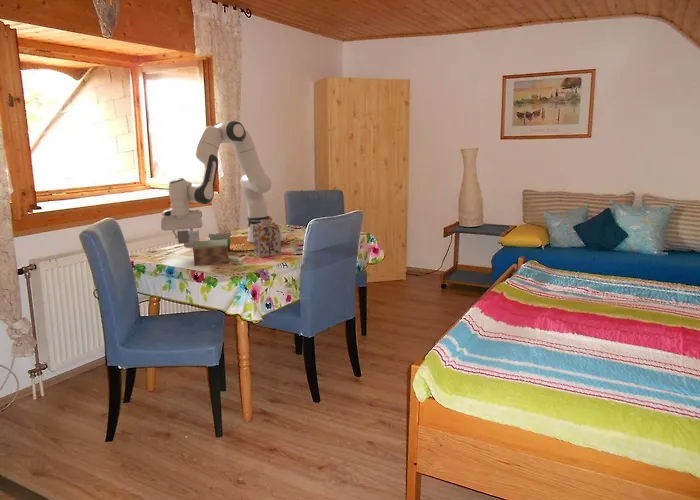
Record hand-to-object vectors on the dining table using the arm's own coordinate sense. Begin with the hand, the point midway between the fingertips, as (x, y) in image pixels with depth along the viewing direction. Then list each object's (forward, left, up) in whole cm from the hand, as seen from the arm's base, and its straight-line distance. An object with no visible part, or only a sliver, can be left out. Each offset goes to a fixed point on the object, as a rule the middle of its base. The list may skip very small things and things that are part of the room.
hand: (183, 237), depth 278 cm
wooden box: (-14, +14, -10) cm, 22 cm away
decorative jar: (-42, +7, -11) cm, 44 cm away
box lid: (-14, +14, -2) cm, 20 cm away
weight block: (0, 0, -2) cm, 2 cm away
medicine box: (-2, -30, -11) cm, 32 cm away
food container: (-19, -8, -11) cm, 23 cm away
